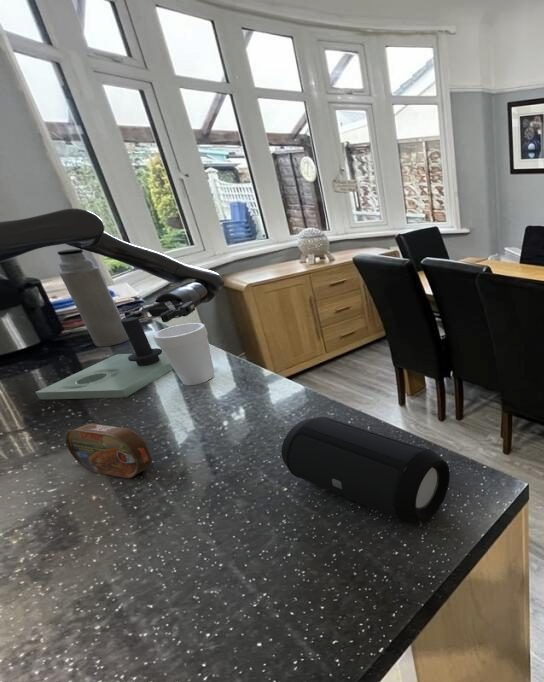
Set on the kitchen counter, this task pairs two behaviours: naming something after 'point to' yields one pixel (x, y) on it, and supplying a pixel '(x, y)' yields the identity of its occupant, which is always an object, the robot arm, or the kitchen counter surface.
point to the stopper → (140, 343)
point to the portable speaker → (368, 467)
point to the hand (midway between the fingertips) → (144, 320)
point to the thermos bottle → (92, 298)
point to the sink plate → (107, 379)
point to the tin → (109, 450)
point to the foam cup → (187, 351)
